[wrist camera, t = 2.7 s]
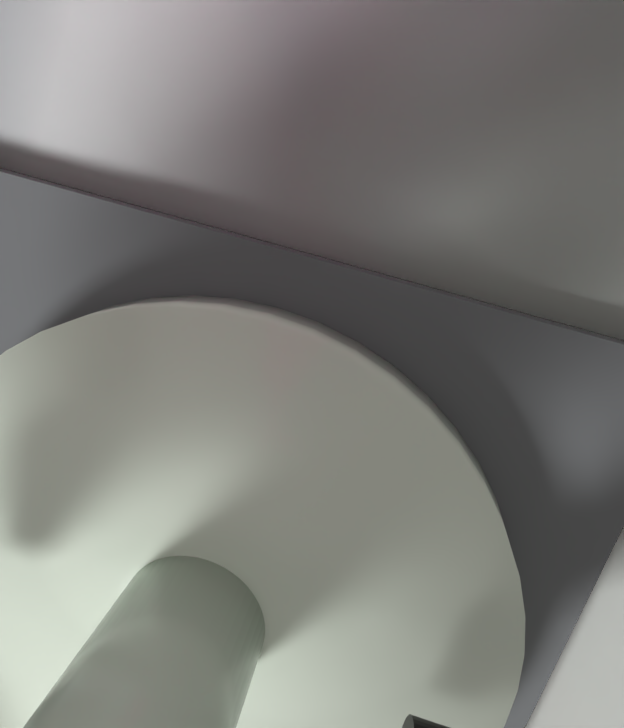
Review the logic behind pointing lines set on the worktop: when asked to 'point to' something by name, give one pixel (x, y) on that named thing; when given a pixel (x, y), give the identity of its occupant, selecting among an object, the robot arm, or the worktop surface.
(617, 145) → the worktop surface
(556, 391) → the mat
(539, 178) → the worktop surface
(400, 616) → the lid
